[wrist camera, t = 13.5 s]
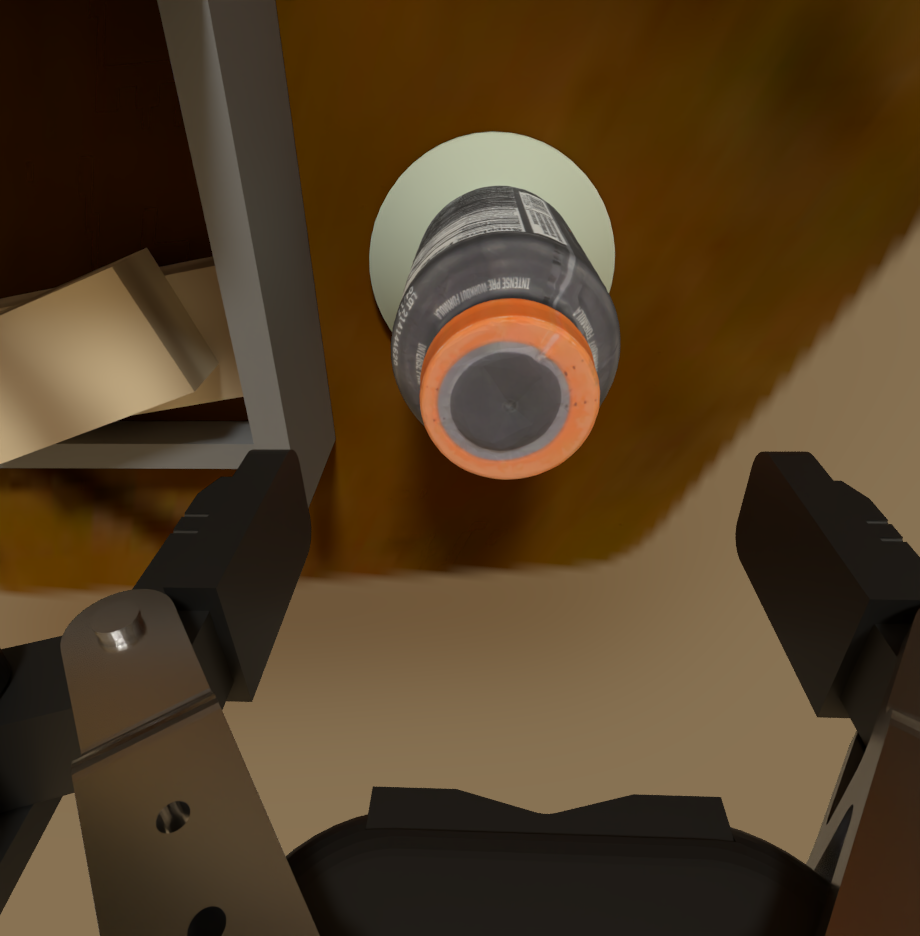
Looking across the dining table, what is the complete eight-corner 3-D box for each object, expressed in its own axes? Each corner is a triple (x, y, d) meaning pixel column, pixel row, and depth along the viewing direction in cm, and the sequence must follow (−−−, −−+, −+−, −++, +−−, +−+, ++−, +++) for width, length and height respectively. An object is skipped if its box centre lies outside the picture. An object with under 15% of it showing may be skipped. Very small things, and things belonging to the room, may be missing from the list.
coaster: (626, 129, 21) (629, 130, 21) (598, 376, 26) (601, 382, 26) (360, 133, 22) (357, 134, 21) (381, 376, 26) (379, 382, 26)
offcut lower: (238, 248, 24) (215, 265, 22) (281, 367, 27) (264, 392, 25) (-61, 308, 26) (-108, 329, 24) (8, 415, 29) (-30, 442, 26)
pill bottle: (562, 353, 25) (613, 530, 15) (412, 339, 25) (370, 509, 15) (592, 190, 22) (680, 286, 12) (420, 173, 22) (373, 257, 12)
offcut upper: (147, 247, 22) (111, 266, 20) (219, 363, 24) (194, 391, 22) (-72, 342, 24) (-125, 369, 22) (14, 441, 26) (-27, 474, 24)
